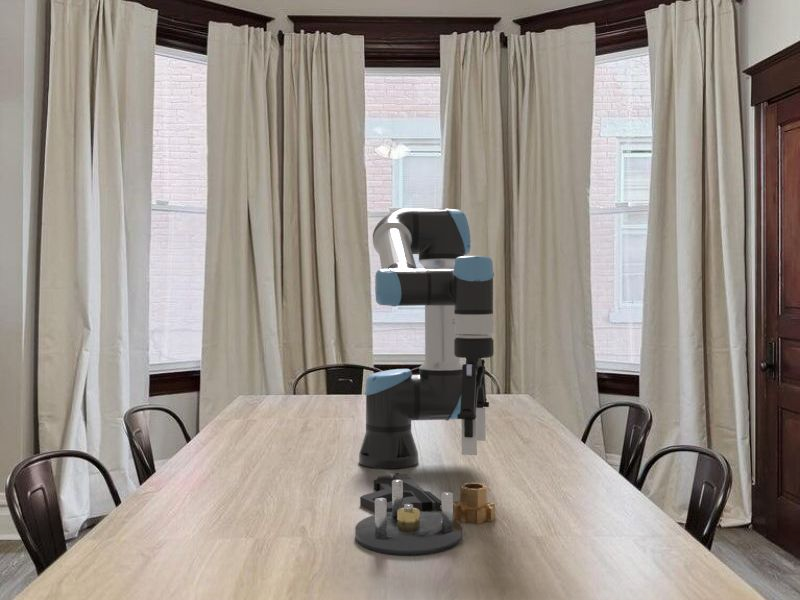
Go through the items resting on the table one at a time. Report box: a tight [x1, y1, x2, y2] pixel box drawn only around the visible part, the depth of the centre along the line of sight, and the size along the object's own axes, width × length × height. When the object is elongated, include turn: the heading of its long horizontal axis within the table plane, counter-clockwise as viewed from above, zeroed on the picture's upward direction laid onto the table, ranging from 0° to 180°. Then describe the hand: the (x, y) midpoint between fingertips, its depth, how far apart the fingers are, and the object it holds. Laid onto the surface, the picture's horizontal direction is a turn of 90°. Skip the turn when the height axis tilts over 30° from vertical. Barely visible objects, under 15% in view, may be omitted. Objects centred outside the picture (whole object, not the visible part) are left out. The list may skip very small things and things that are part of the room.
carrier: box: [354, 480, 463, 557], centre depth 126 cm, size 19×19×8 cm
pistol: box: [359, 472, 442, 513], centre depth 150 cm, size 2×26×15 cm
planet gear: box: [453, 482, 496, 525], centre depth 136 cm, size 8×8×6 cm
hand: (474, 447), depth 136 cm, fingers open, 13 cm apart
